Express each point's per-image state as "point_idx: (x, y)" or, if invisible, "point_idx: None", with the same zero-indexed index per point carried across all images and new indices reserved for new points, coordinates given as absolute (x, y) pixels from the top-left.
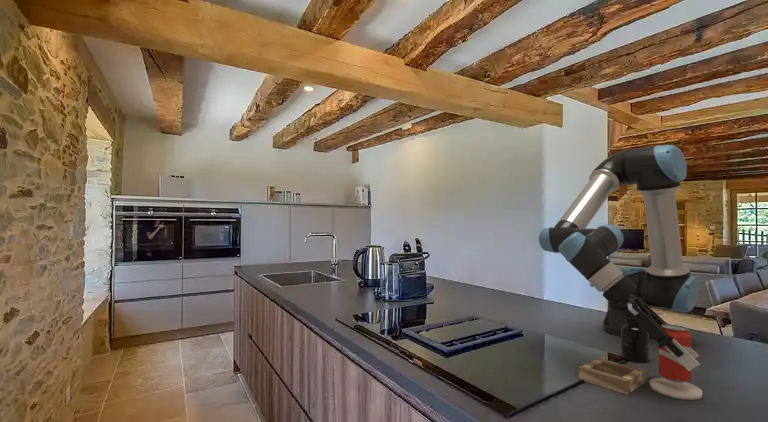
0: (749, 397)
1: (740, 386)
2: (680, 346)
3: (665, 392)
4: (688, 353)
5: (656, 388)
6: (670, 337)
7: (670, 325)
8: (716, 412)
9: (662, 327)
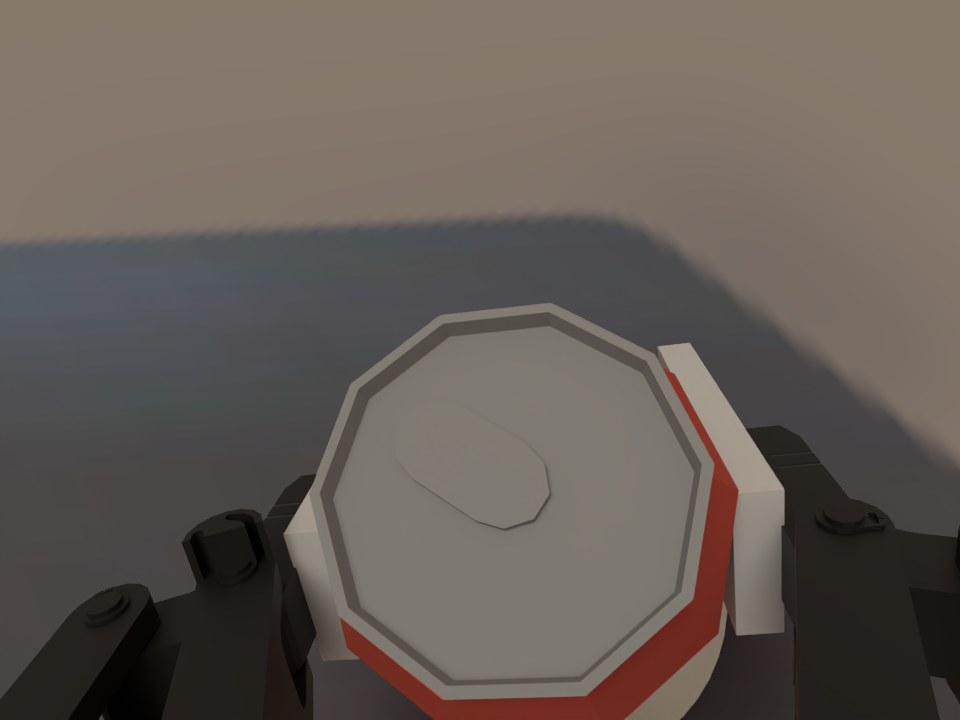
0: (392, 261)
1: (237, 301)
2: (747, 439)
3: (723, 629)
4: (713, 390)
5: (698, 696)
6: (864, 522)
7: (346, 558)
8: (769, 360)
9: (599, 672)
